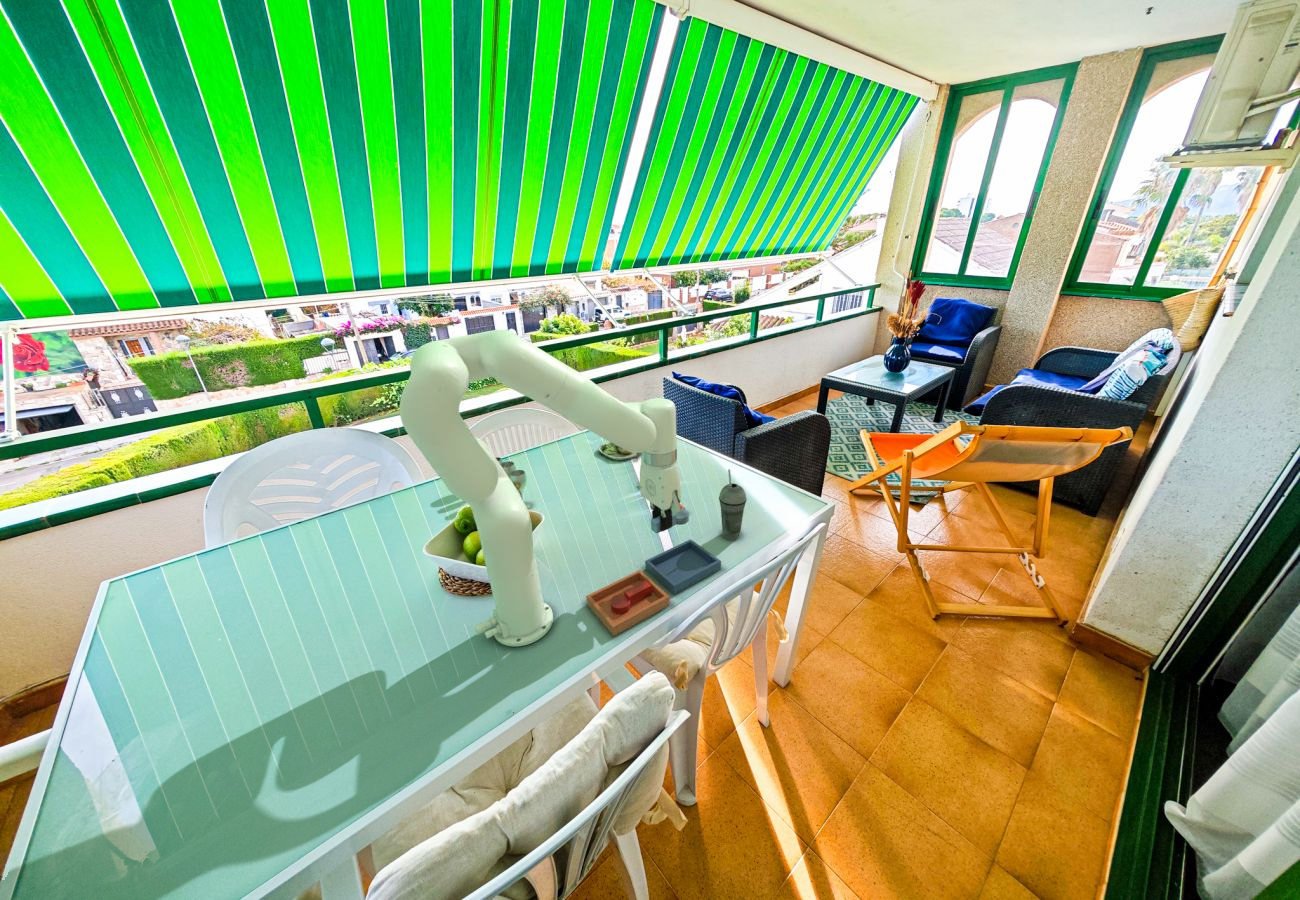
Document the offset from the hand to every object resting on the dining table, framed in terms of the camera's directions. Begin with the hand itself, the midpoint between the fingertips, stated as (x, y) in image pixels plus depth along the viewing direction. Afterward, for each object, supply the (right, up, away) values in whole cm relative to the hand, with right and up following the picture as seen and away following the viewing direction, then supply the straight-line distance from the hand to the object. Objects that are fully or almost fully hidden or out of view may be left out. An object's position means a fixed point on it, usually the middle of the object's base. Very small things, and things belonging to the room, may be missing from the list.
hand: (662, 525), depth 107 cm
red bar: (0, +2, +38) cm, 38 cm away
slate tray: (+5, -12, +6) cm, 14 cm away
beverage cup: (+19, -6, +18) cm, 27 cm away
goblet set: (-51, +3, +43) cm, 67 cm away
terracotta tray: (-8, -17, -5) cm, 19 cm away
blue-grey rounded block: (+2, 0, +1) cm, 2 cm away
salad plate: (-14, +17, +72) cm, 76 cm away
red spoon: (-7, -16, -4) cm, 18 cm away
